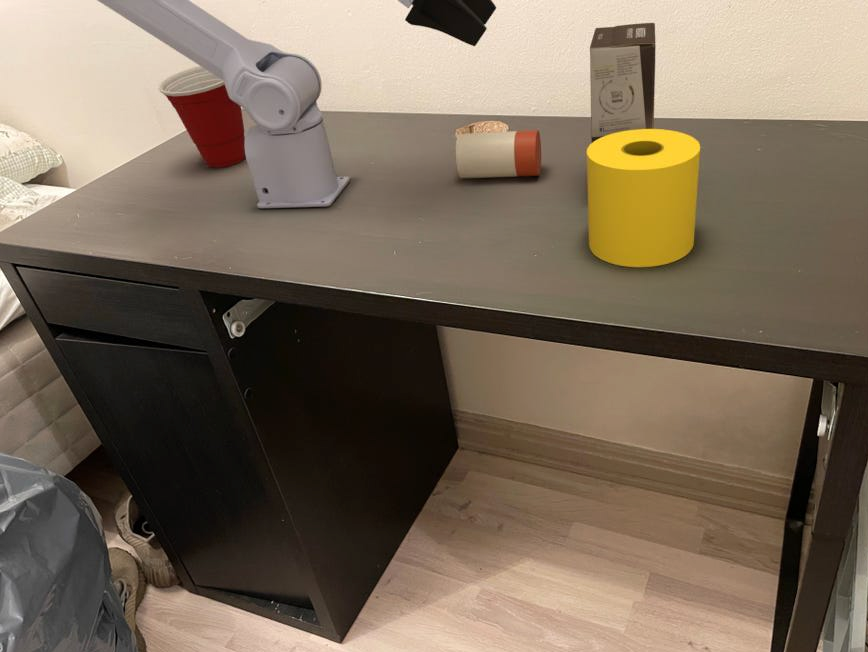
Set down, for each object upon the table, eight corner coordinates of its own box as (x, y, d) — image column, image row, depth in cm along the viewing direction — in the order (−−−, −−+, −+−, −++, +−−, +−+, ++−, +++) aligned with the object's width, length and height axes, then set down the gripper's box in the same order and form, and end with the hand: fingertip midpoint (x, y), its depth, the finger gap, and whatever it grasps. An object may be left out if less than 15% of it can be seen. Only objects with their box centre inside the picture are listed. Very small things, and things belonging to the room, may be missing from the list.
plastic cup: (171, 174, 103) (138, 86, 96) (219, 145, 111) (192, 62, 104) (232, 177, 99) (203, 86, 92) (278, 148, 107) (254, 62, 100)
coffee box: (651, 201, 79) (655, 42, 70) (591, 202, 81) (587, 47, 71) (652, 168, 86) (657, 20, 77) (597, 169, 88) (594, 24, 78)
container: (467, 168, 93) (542, 165, 91) (459, 185, 89) (537, 182, 87) (462, 127, 90) (539, 123, 88) (453, 143, 86) (534, 139, 84)
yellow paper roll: (691, 269, 67) (697, 170, 61) (581, 265, 70) (578, 169, 64) (696, 220, 75) (702, 128, 69) (597, 218, 77) (595, 129, 72)
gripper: (377, -85, 66) (499, 13, 70) (412, -110, 77) (516, -24, 81) (341, -16, 70) (458, 73, 74) (379, -49, 81) (479, 30, 85)
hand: (486, 26), depth 78 cm, fingers open, 7 cm apart
